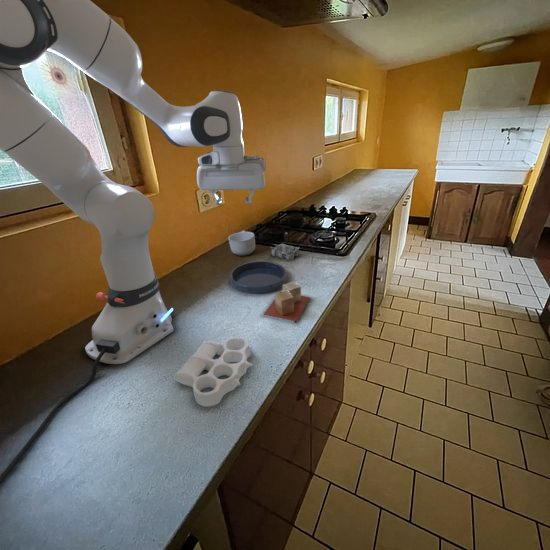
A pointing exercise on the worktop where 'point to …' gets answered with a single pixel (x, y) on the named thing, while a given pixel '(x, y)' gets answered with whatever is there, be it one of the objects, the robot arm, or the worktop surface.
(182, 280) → the worktop surface
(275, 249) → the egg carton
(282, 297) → the block
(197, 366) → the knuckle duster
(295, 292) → the block
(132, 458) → the worktop surface
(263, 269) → the pan
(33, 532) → the worktop surface
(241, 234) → the teacup
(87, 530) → the worktop surface
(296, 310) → the mat
